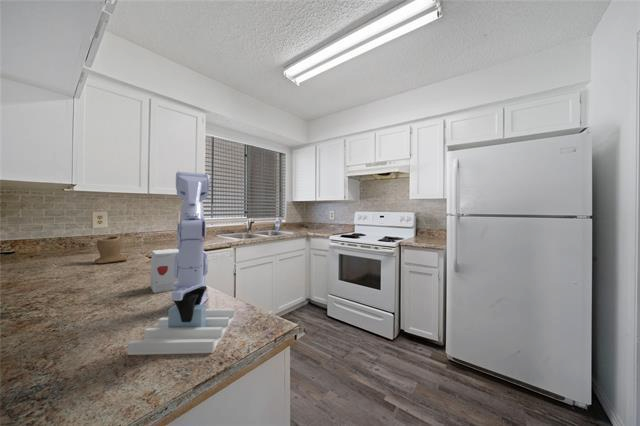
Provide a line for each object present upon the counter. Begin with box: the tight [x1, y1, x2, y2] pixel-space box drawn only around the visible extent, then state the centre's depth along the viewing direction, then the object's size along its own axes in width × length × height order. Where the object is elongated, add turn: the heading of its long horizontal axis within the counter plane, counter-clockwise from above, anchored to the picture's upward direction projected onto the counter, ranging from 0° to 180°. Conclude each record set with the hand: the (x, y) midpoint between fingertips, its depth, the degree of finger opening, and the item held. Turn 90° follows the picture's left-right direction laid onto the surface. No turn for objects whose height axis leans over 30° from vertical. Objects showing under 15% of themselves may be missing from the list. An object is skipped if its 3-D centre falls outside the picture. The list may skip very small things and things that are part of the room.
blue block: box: [167, 304, 207, 328], centre depth 63 cm, size 3×8×6 cm, turn 95°
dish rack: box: [126, 308, 236, 356], centre depth 63 cm, size 18×18×2 cm
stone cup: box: [93, 235, 129, 264], centre depth 138 cm, size 15×12×15 cm
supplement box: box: [150, 248, 179, 294], centre depth 96 cm, size 9×9×15 cm
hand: (189, 318), depth 63 cm, fingers closed on blue block, 3 cm apart
